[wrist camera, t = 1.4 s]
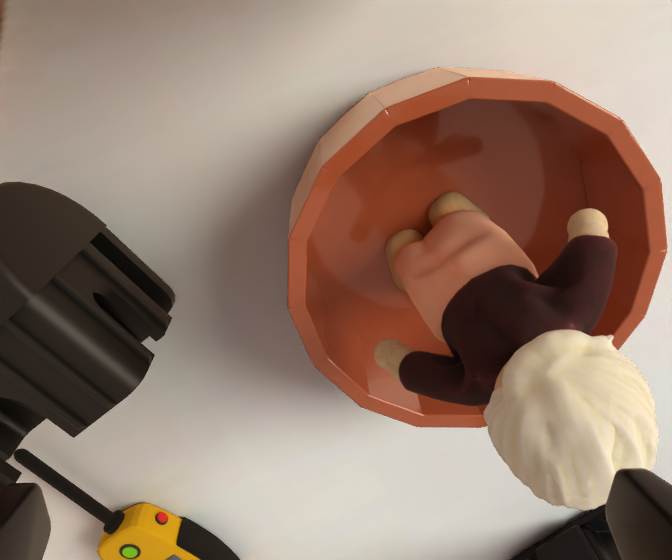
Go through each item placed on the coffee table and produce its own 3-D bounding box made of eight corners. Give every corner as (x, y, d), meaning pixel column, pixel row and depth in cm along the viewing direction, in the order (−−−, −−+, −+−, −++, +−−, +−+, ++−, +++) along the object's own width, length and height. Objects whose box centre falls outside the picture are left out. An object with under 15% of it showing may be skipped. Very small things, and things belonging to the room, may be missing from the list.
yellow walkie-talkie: (204, 652, 29) (-35, 497, 23) (209, 616, 31) (-12, 464, 25) (273, 612, 28) (39, 441, 22) (274, 578, 30) (58, 411, 24)
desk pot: (651, 238, 22) (729, 285, 18) (419, 406, 25) (441, 479, 21) (479, -14, 18) (530, -27, 14) (226, 224, 21) (206, 272, 17)
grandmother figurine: (414, 327, 23) (522, 626, 11) (346, 276, 22) (390, 552, 10) (551, 190, 21) (858, 392, 9) (483, 125, 19) (738, 263, 8)
